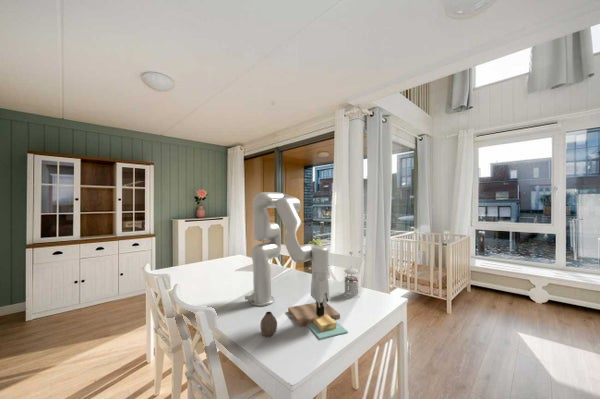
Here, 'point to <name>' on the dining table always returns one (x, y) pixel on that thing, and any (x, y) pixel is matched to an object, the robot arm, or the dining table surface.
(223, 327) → the dining table surface
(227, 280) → the dining table surface
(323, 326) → the yellow flat block
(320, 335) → the mat
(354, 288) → the french press
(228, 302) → the dining table surface
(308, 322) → the wooden board
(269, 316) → the vase
